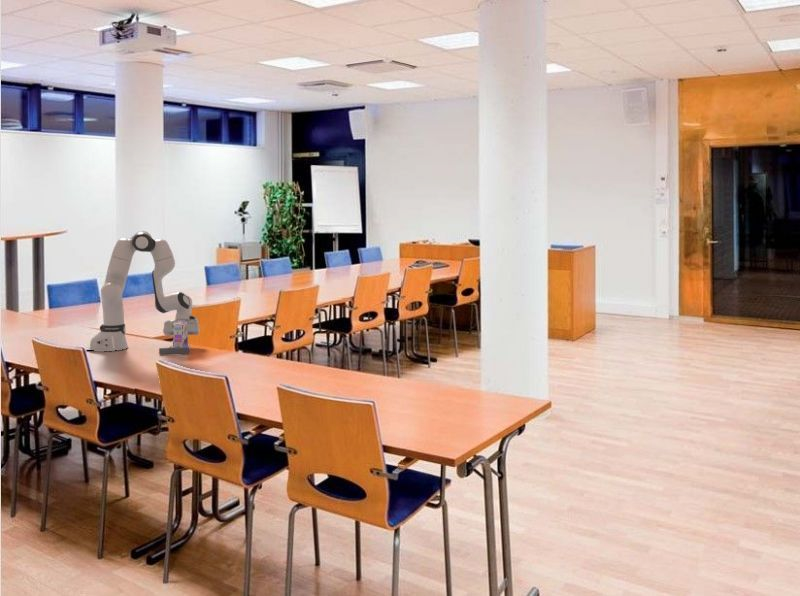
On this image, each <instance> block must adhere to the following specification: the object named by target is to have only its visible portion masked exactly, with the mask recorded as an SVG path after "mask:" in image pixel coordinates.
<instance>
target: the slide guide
mask: <svg viewBox="0 0 800 596" xmlns="http://www.w3.org/2000/svg"><path fill="white" fill-rule="evenodd" d="M191 348H192V345H191V344H188V347H187V348H173V344H172V345H170V346H169V347H159V348H158V351H159V352H158V355H159V354H183V355H190V354H191V353H190V349H191ZM189 353H190V354H189Z"/></svg>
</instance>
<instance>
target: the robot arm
mask: <svg viewBox="0 0 800 596" xmlns="http://www.w3.org/2000/svg"><path fill="white" fill-rule="evenodd" d="M136 252H143V253H144V252H145V253H150V254H151V256H152V259H153V262H154V267H153V268H154V269H153V270H152V271H151V278H152V287H153V293H154V307H155V309H156V310H157V311H158V312H159V313H162V314H166V313H170V312H172V311H176V314H175V317H174V318H175V319H173V320H172V319H171V320H166V321H165V322H163V330H162V332H163V334H164V336H173V324H174V323H175V322H177V321H187V330H188V336H192V335H193V336H195V335H196V336H197V335H199V334H200V325H199V320H198V317H197V316H194V315H192V313H193V299H192V298H191V297H190V296H189V295H187V294H185V293H184V292H182V291H178V292H173V293H169V294H166V295H165V294H164V289H163V279H164V278H165V277H166V276H167V275H168V274H170V273H171V272H173V270H174V268H175V266H176V263H175V262H176V261H175V258H174V254H173V252H172V250H171V247H170V244H168V242H167V240H165V239H163V238H161V239H160V238H159V239H155V238H153V237H152V235H151V234H150V233H149V232H147V231H144V230H141V231H140V230H139V231H138V232H136V233H134V234H133V235H132V236H131V238H129V239H128V238H120V239H118V240H117V241H116V243H115V245H114V247H113V250H112V253H111V256H110V259H109V263H108V267H107V271H106V276H105V280H104V284H103V285H102V287H101V289H100V296H101V297H100V298H101V299H100V300H101V305H102V307H101V308H102V317H103V318H102V319H103V323H102V324H101V325H100V326H99V330H100V331H99V332H98V333H96V334H95V335H94V336H93V337H92V338H91V339H90V341H89V346H87V347H86V348H88V349H87V350H94V351H93V352H104V351H112V352H116V351H115V350H117V351H122V349H123V350H127V349H128V348H129V345H128V342H127V337H126V323H125V313H124V312H125V310H124V304H123V293H124V290H125V287H126V283H127V279H128V275H129V271H130V267H131V264H132V259H133V258H134V257H133V256H134V253H136ZM126 348H127V349H126Z"/></svg>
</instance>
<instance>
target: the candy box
mask: <svg viewBox="0 0 800 596" xmlns="http://www.w3.org/2000/svg"><path fill="white" fill-rule="evenodd" d="M172 345H173V348H187V347H188V346H189V335H188V330H187V321H177V322H175V323H174V324H173V335H172Z"/></svg>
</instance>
